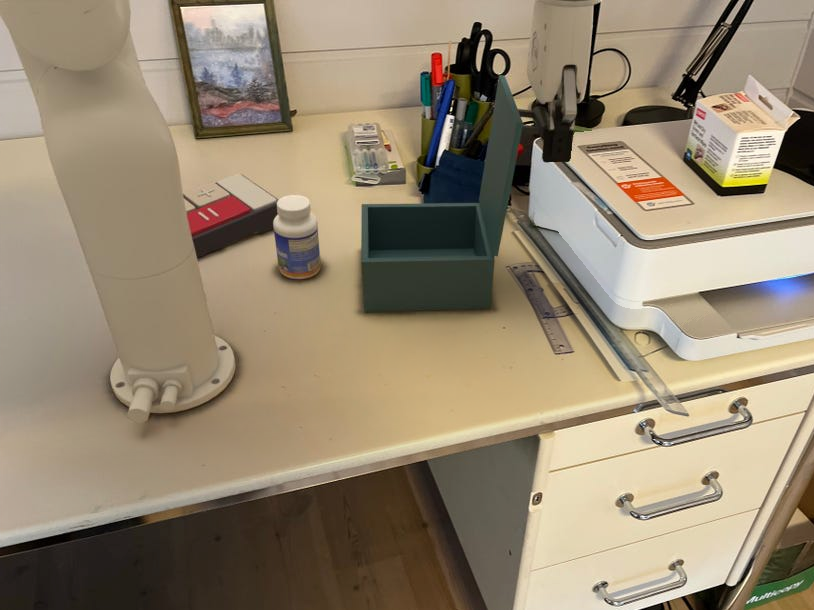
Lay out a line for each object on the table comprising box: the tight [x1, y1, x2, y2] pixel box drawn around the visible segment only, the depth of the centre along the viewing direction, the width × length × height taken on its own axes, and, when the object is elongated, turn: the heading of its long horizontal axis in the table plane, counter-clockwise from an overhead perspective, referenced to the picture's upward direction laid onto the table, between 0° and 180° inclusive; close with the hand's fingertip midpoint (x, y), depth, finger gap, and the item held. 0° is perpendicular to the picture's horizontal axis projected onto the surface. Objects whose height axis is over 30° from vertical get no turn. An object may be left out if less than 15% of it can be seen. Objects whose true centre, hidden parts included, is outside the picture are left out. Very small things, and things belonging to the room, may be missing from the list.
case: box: [360, 202, 496, 313], centre depth 95 cm, size 16×14×7 cm
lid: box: [478, 74, 548, 258], centre depth 89 cm, size 16×14×6 cm
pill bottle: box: [273, 194, 322, 280], centre depth 95 cm, size 5×5×10 cm
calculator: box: [183, 173, 279, 259], centre depth 103 cm, size 11×4×15 cm
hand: (550, 147), depth 87 cm, fingers closed on lid, 5 cm apart
